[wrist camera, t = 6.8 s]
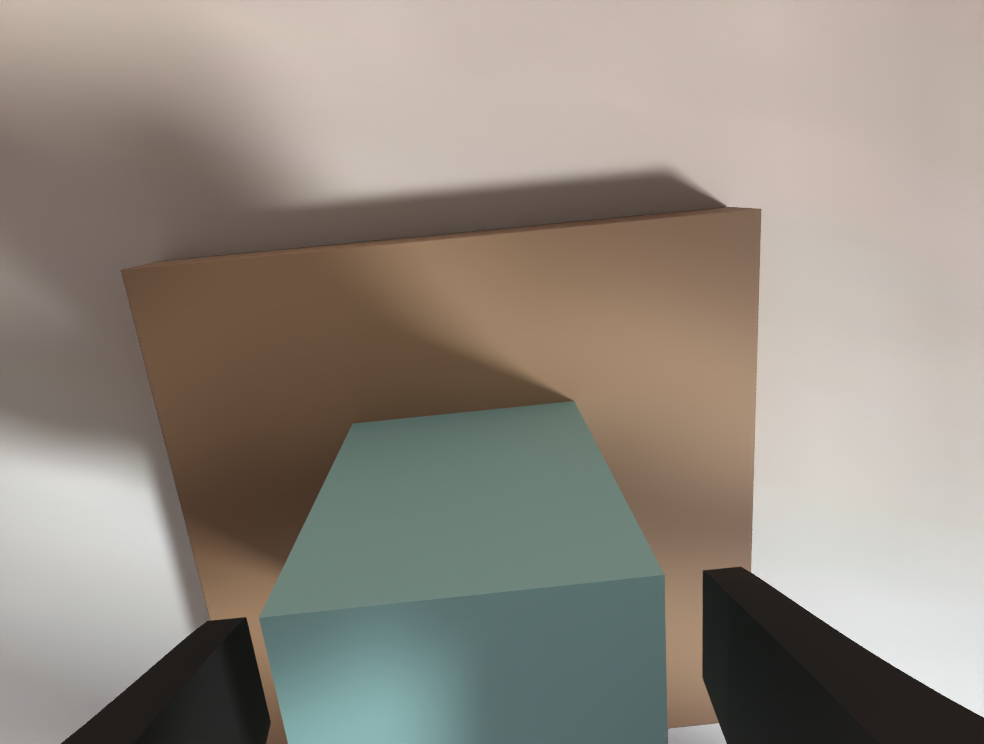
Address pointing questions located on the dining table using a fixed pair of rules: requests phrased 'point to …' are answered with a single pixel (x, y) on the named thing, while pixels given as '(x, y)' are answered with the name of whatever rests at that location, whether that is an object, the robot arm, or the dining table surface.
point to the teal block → (470, 591)
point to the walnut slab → (464, 384)
